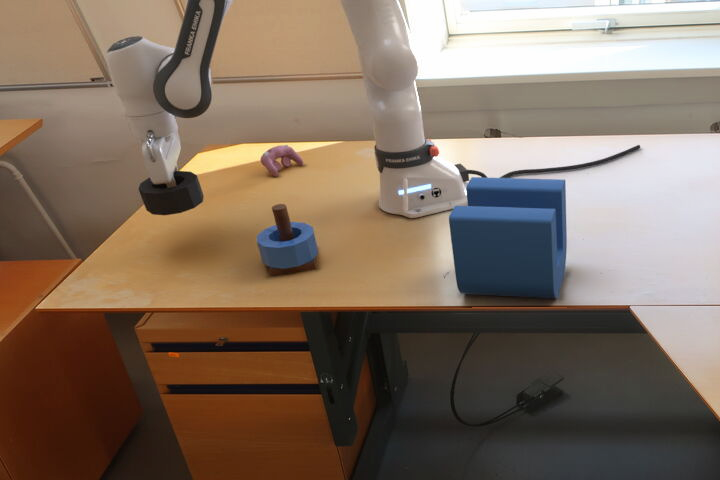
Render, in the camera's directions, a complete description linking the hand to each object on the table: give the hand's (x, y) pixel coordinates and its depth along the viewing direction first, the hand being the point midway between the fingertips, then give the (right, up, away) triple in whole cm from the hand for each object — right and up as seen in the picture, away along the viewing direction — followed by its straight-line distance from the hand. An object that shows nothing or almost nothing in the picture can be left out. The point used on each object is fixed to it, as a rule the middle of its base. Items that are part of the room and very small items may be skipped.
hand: (175, 187), depth 165 cm
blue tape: (+26, -15, -4) cm, 30 cm away
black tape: (+1, -4, -2) cm, 5 cm away
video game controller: (+11, +13, +38) cm, 42 cm away
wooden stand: (+26, -16, -4) cm, 31 cm away
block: (+73, -22, -14) cm, 78 cm away
